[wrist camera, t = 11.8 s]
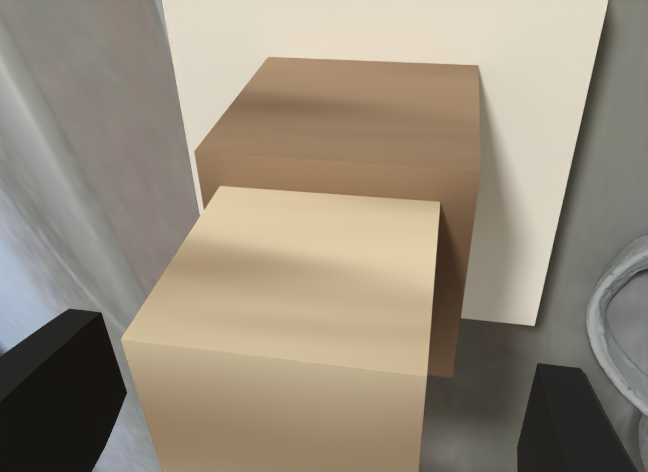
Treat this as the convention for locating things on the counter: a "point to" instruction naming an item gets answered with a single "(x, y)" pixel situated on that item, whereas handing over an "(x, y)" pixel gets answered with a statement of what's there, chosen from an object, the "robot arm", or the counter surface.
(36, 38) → the counter surface
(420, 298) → the maple block
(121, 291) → the counter surface
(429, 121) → the walnut block
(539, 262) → the base
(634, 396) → the ceramic mug
